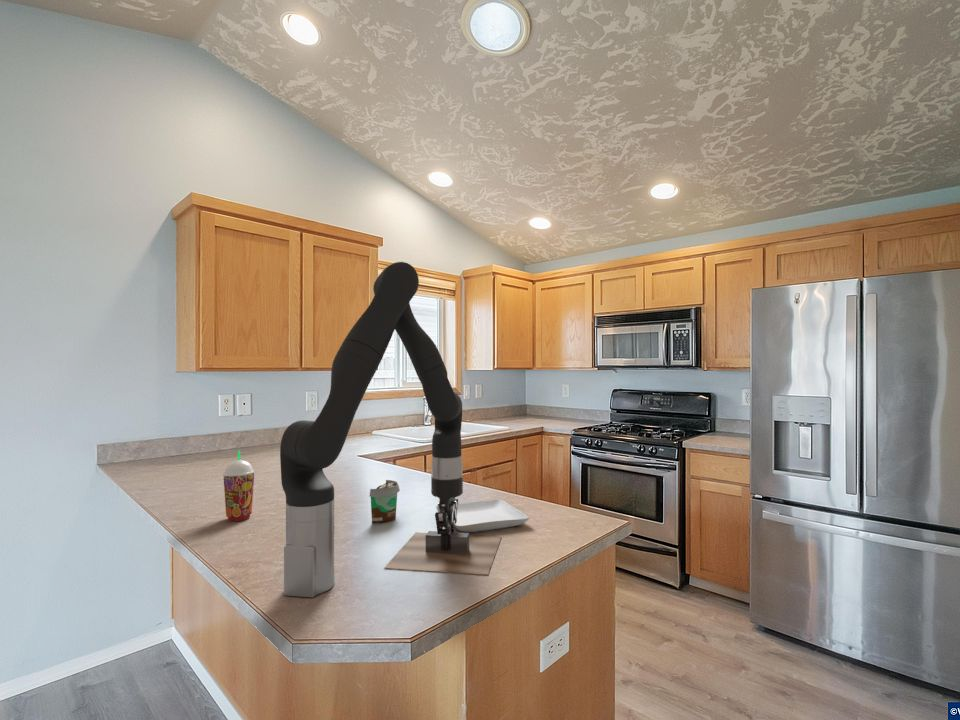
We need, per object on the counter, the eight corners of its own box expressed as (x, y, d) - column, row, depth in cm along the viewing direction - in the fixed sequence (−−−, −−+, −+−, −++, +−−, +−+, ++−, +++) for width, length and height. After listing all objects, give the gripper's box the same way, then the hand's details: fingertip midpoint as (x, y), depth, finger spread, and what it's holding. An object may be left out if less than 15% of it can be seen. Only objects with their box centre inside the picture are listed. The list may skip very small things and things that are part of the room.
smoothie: (216, 520, 140) (216, 451, 140) (242, 512, 147) (242, 447, 148) (235, 524, 136) (235, 454, 136) (260, 516, 143) (260, 449, 144)
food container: (390, 526, 133) (390, 490, 134) (369, 525, 135) (369, 489, 135) (405, 513, 145) (405, 480, 146) (386, 512, 147) (386, 479, 147)
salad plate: (499, 508, 151) (499, 497, 151) (530, 529, 131) (530, 516, 131) (434, 516, 143) (434, 504, 144) (457, 539, 124) (457, 526, 124)
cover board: (487, 578, 101) (487, 555, 101) (384, 571, 105) (384, 549, 105) (501, 539, 124) (501, 521, 124) (415, 535, 128) (415, 517, 128)
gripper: (455, 482, 107) (456, 559, 107) (468, 468, 121) (468, 537, 121) (423, 481, 109) (424, 557, 108) (439, 468, 122) (439, 536, 122)
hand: (447, 546), depth 115 cm, fingers closed on cover board, 3 cm apart
